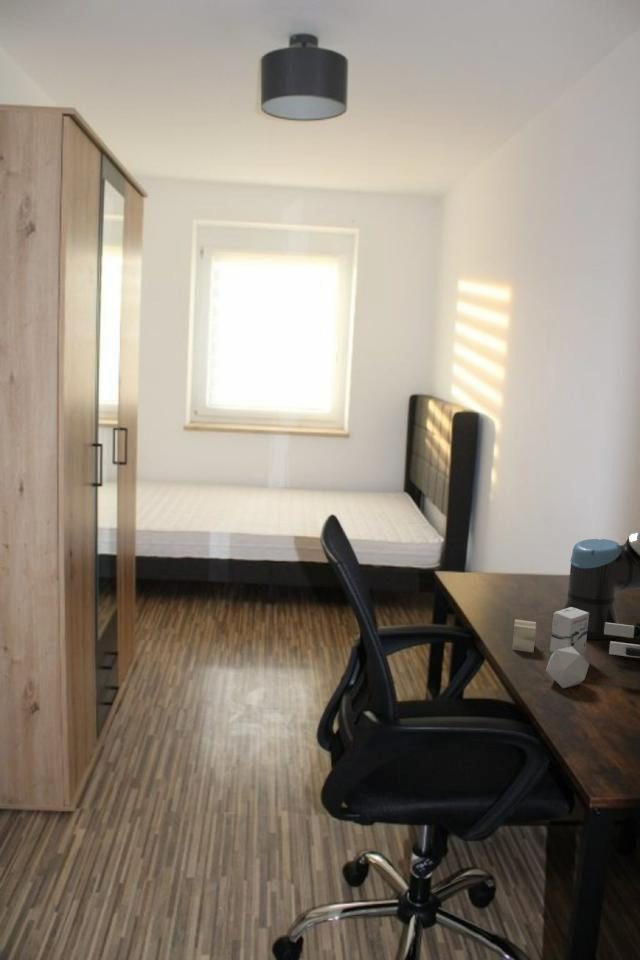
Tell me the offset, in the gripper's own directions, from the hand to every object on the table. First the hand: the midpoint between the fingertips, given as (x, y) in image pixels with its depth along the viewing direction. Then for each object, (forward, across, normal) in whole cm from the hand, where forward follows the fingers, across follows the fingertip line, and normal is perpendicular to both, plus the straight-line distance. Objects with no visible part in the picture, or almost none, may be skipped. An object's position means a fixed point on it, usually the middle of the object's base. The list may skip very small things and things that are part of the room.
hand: (606, 637), depth 190 cm
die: (+9, -14, -7) cm, 18 cm away
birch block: (+18, +6, -7) cm, 20 cm away
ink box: (+8, 0, -7) cm, 11 cm away
